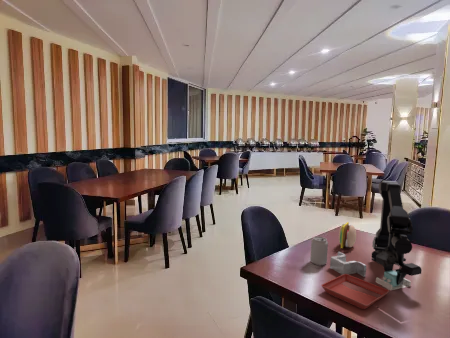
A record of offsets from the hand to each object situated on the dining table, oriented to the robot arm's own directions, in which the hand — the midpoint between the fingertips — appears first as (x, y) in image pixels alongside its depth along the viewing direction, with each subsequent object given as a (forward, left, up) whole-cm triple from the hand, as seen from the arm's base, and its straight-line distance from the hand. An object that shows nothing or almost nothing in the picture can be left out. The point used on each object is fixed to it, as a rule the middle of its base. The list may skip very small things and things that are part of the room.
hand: (393, 282), depth 124 cm
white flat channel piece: (0, 0, -1) cm, 1 cm away
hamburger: (-15, -42, -2) cm, 45 cm away
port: (+10, -17, -1) cm, 20 cm away
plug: (0, 0, 0) cm, 0 cm away
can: (+15, -28, -2) cm, 32 cm away
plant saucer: (+21, +1, -2) cm, 21 cm away
